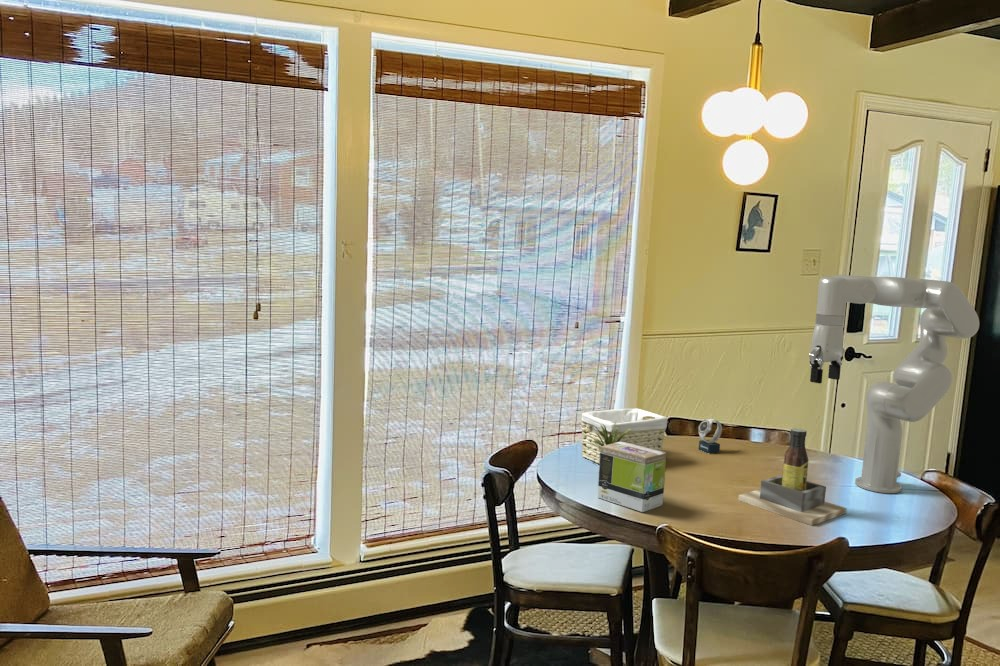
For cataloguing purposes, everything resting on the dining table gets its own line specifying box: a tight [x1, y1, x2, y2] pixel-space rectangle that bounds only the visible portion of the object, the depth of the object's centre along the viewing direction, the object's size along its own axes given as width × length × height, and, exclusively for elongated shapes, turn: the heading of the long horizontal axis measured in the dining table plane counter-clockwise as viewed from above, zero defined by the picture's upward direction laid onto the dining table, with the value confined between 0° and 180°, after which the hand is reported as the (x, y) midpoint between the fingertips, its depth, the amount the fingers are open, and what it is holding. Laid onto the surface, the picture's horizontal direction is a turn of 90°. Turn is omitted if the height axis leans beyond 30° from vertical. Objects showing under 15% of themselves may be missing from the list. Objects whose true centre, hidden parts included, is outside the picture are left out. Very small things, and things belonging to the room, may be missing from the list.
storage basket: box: [580, 407, 668, 465], centre depth 256 cm, size 24×16×15 cm
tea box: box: [597, 441, 667, 513], centre depth 216 cm, size 15×10×15 cm
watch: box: [697, 418, 723, 454], centre depth 271 cm, size 6×8×11 cm
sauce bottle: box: [781, 428, 809, 492], centre depth 217 cm, size 7×6×20 cm
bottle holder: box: [737, 474, 847, 527], centre depth 218 cm, size 17×22×6 cm
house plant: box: [588, 423, 633, 465], centre depth 238 cm, size 14×14×16 cm
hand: (824, 380), depth 228 cm, fingers open, 9 cm apart
